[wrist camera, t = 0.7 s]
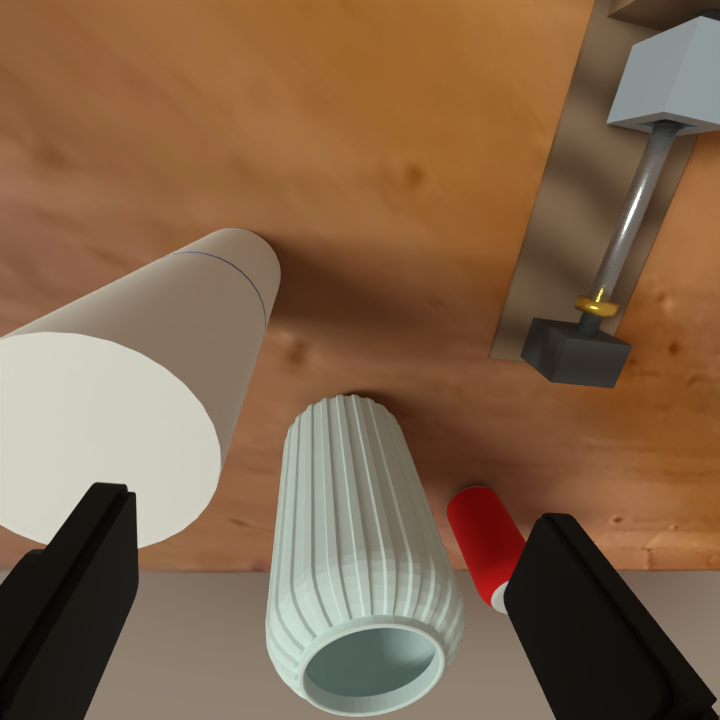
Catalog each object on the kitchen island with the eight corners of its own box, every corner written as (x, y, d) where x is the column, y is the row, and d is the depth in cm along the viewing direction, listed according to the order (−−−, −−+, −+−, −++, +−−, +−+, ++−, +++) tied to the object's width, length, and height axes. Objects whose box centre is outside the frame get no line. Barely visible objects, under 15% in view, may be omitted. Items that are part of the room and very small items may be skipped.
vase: (352, 360, 38) (400, 560, 18) (419, 437, 42) (518, 668, 22) (261, 429, 40) (209, 680, 20) (334, 496, 44) (353, 758, 24)
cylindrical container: (298, 271, 34) (273, 444, 12) (244, 329, 36) (127, 585, 13) (229, 208, 32) (24, 268, 9) (174, 273, 33) (-123, 468, 10)
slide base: (618, -76, 27) (710, -155, 21) (763, -31, 29) (888, -90, 23) (488, 356, 40) (522, 389, 33) (597, 368, 42) (649, 401, 35)
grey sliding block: (632, 45, 29) (700, 16, 24) (698, 62, 30) (776, 37, 25) (606, 123, 31) (664, 111, 26) (668, 137, 32) (736, 128, 27)
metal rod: (672, 8, 28) (715, -13, 25) (712, 19, 28) (758, 0, 25) (547, 356, 38) (567, 371, 35) (578, 359, 38) (600, 374, 35)
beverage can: (501, 508, 48) (558, 604, 37) (453, 529, 48) (495, 630, 37) (487, 472, 45) (543, 563, 34) (436, 494, 46) (475, 591, 35)
